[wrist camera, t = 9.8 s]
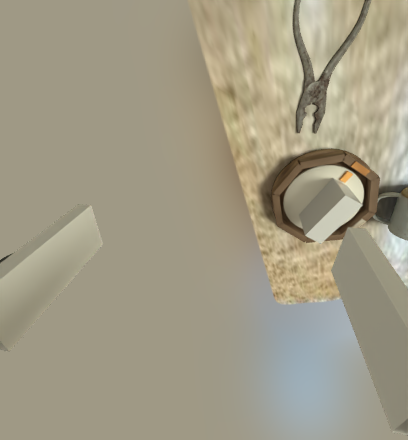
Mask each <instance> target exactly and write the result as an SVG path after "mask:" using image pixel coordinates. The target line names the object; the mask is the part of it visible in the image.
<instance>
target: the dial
mask: <svg viewBox="0 0 408 440" xmlns="http://www.w3.org/2000/svg"><path fill="white" fill-rule="evenodd" d="M363 199H364V188H363V185H362V183H361V181H360V179H359V178H358V177H357V176H356V175H355V174H354V173H353V172H352V171H351V170H349V169H348V168H346V167H343V166H340V165H336V164H326V165H321V166H315V167H310V168H308V169H306V170H304V171H302V172H301V173H299V174H298V175H297V176H296V177H295V178H294V179H293V180H292V182H291V183H290V184H289V185H288V186H287V188H286V190H285V193H284V197H283V205H284V210H285V213H286V215H287V217H288V218H289V220H290V221H291V222H292V223H293V224H295V225H296V226H298V227H300V228H302V229H303V230H304V233H305V236H307V237H309V238H310V239H312V240H314V241H316V242H318V243H320V244H321V243H322V242H323V241H325V240H326V239H327V238H328V237H329V236H330V235H331V234H332V233H333V232H334V231H335V230H336V229H338V228H339V227H340V226H341V225H343V224H345V223H346V222H348V221H349V220H350V219H352V218H353V217H354V216H355V215H356V213H357V212H358V211H359V209H360V207H361V206H363V205H362V203H363Z"/></svg>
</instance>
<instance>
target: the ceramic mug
mask: <svg viewBox="0 0 408 440" xmlns="http://www.w3.org/2000/svg"><path fill="white" fill-rule="evenodd" d="M385 197H398V199H397V202H396V205H395V208H394V210H393V213H392V216H391V218H390V220H386V219H383V218H381V217H379V216H377V215H376V214H375V215H374V216H373V218H374V219H375V220H377V221H379V222H381V223H384V224H387V225H388V229H389V230H390V232H391V233H393V234H394V235H396V236H398V237H399V238H402V239H405V240H408V187H407V188H405V189H403V190H402V192H401V193H395V192H389V193H383V194H380V195H378V202H379V200H380V199H381V198H385ZM378 202H377V203H378Z"/></svg>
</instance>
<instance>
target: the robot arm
mask: <svg viewBox="0 0 408 440" xmlns="http://www.w3.org/2000/svg"><path fill="white" fill-rule="evenodd" d="M102 245H103V242H102V239H101V236H100V233H99V230H98V226H97V223H96V220H95V216H94V213H93V210H92V207H91V205H83V204H78V205H77V206H75V207H74V208H73V209H71V210H70V211H69V212H68V213H67V214H65V215H64V216H62V217H61V218H60V219H58V220H57V221H56V222H54V223H53V224H52V225H50V226H49V227H48V228H47V229H45V230H44V231H42V232H41V233H40V234H39V235H37V236H36V237H34V238H33V239H32V240H31V241H29V242H28V243H26V244H25V245H24V246H22V247H21V248H20V249H19V250H17V251H16V252H14V253H13V254H10V255H8V256H6V257H4V258H3V259H1V260H0V350H4V351H10V350H11V349H12V348H13V347H14V346H15V344H16V343H17V342H18V341H19V340H20V339H21V338H22V336H23V335H24V334H25V333H26V332H27V331H28V330H29V328H30V327H31V326H32V325H33V324H34V323H35V322H36V321H37V319H38V318H39V317H40V316H41V314H43V313H44V311H45V310H46V309H47V308H48V307H49V306H50V305H51V303H52V302H53V301H54V300H55V299H56V298H57V297H58V295H59V294H60V293H61V292H62V291H63V290H64V288H65V287H66V286H67V285H68V284H69V283H70V282H71V281H72V279H73V278H74V277H75V276H76V275H77V274H78V272H79V271H80V270H81V269H82V268H83V267H84V266H85V264H86V263H87V262H88V261H89V260H90V259H91V258H92V257H93V255H94V254H95V253H96V252H97V251H98V250H99V249H100V248H101V246H102ZM331 271H332V274H333V277H334V279H335V282H336V285H337V287H338V290H339V293H340V295H341V298H342V300H343V303H344V306H345V308H346V311H347V314H348V316H349V319H350V322H351V324H352V327H353V330H354V332H355V335H356V337H357V340H358V343H359V346H360V348H361V351H362V353H363V356H364V359H365V362H366V364H367V367H368V369H369V372H370V375H371V377H372V380H373V383H374V386H375V388H376V391H377V393H378V396H379V398H380V401H381V404H382V407H383V409H384V412H385V415H386V417H387V420H388V423H389V425H390V428H391V431H392V432H394V433H399V434H404V435H408V289H407V287H406V286H405V284H404V283H403V281H402V280H401V278H400V277H399V276H398V274H397V273H396V271H395V270H394V268H393V267H392V265H391V264H390V263H389V261H388V260H387V258H386V257H385V255H384V254H383V253H382V251H381V250H380V248H379V247H378V245H377V244H376V242H375V241H374V240H373V238H372V237H371V235H370V234H369V232H368V231H367V230H366V229H364V228H352V227H348V228H347V231H346V233H345V236H344V238H343V241H342V244H341V246H340V249H339V252H338V254H337V257H336V259H335V262H334V265H333V267H332V270H331Z"/></svg>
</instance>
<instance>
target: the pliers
mask: <svg viewBox="0 0 408 440" xmlns="http://www.w3.org/2000/svg"><path fill="white" fill-rule="evenodd" d="M300 1H301V0H296V1H295V7H294V24H293V26H294V36H295V40H296V44H297V47H298V50H299V54H300V57H301V60H302V63H303V67H304V72H305V83H304V92H303V95H302V98H301V101H300V104H299V107H298V110H297V131H298V133H300V130H301V128H302V125H303V122H302V121H303V119H304V117H305V116H306V115H307V113H306V112H305V107H306V106H307V105H310V104H311V102H314V104H315V105H318V110H317V111H316V112H315V113H314V116H315V117H316V122H315V123H314V133H317V130H318V128H319V126H320V123H321V121H322V118H323V116H324V114H325V106H326V91H327V87H328V84H329V81H330V80H329V79H330V77H331V74H332V72H333V70H334V69H335V67H336V65H337V64H338V62H339V61H340V59H341V58H342V56H343V55H344V53H345V52H346V51H347V49H348V48H349V46H350V45H351V43H352V42H353V41H354V39H355V37H356V36H357V34H358V33H359V31H360V29H361V27H362V25H363V23H364V21H365V18H366V15H367V13H368V10H369V6H370V3H371V0H365V4H364V7H363V10H362V13H361V15H360V18H359V20H358V22H357V24H356V26H355V28H354V30H353V31H352V32H351V34H350V35H349V37H348V38H347V40H346V41H345V42H344V44H343V45H342V46H341V48H340V49H339V50H338V52H337V53H336V54H335V55H334V57H333V58H332V60H331V61H330V62H329V64H328V65H327V67H326V69H325V70H324V72H323V74H322V76H321V78H320V80H319V81H316V82H315V80H314V73H313V68H312V64H311V61H310V58H309V56H308V53H307V51H306V48H305V45H304V43H303V40H302V37H301V33H300V27H299V7H300Z"/></svg>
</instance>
